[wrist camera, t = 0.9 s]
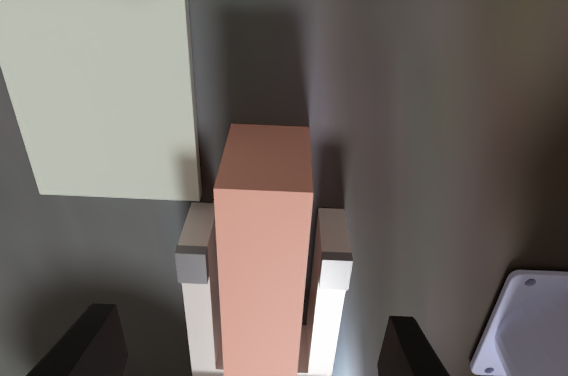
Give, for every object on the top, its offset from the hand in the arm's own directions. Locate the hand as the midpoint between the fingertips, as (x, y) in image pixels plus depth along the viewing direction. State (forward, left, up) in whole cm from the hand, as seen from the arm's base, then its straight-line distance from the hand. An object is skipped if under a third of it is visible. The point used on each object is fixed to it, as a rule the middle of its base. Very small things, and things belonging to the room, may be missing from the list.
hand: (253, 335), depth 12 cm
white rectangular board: (+6, -5, -9) cm, 12 cm away
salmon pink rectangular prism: (0, +3, -9) cm, 9 cm away
